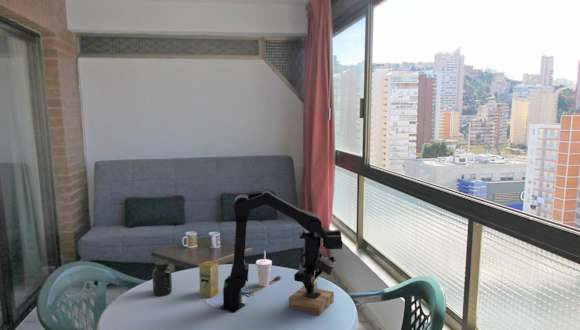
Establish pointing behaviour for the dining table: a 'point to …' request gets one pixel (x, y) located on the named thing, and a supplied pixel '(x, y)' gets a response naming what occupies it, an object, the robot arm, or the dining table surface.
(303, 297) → the block
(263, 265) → the smoothie
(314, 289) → the orange and grey peg
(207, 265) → the shoe polish box
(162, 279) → the supplement bottle
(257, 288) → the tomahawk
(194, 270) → the dining table surface
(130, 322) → the dining table surface
